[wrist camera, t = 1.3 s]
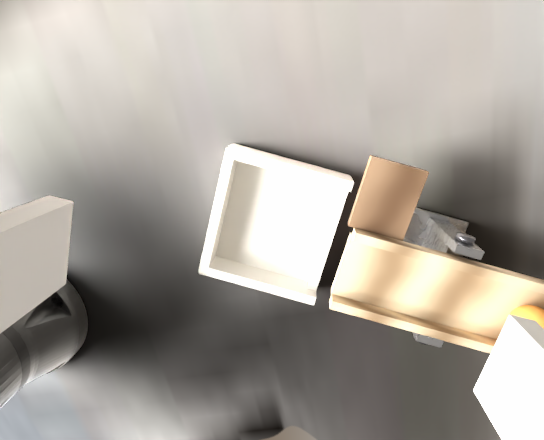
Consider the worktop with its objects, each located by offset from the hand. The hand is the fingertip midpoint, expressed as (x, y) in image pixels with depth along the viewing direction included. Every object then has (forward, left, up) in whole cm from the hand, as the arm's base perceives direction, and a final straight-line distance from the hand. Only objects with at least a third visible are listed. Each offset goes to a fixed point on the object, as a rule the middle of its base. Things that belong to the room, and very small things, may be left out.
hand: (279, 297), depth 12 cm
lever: (+16, -4, -25) cm, 30 cm away
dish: (-1, -8, -32) cm, 33 cm away
